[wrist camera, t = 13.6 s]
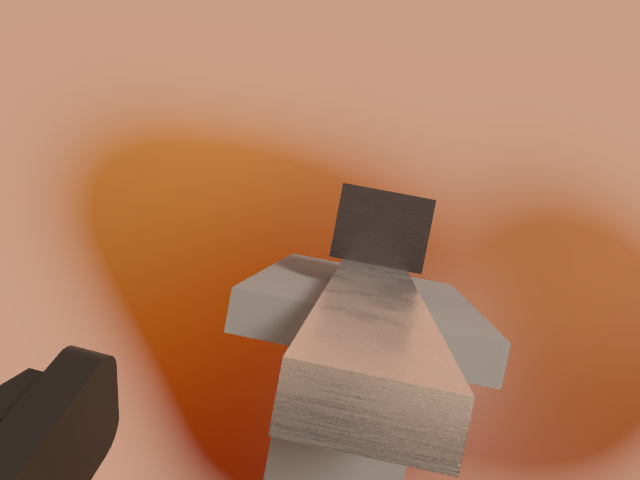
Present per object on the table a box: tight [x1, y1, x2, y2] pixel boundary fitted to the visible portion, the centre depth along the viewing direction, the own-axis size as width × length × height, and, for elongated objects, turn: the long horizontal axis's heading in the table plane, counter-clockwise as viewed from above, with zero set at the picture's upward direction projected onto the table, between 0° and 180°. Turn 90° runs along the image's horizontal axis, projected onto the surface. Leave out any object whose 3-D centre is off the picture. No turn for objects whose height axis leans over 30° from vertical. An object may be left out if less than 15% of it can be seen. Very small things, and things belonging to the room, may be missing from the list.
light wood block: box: [269, 183, 475, 477], centre depth 25 cm, size 28×5×6 cm, turn 175°
